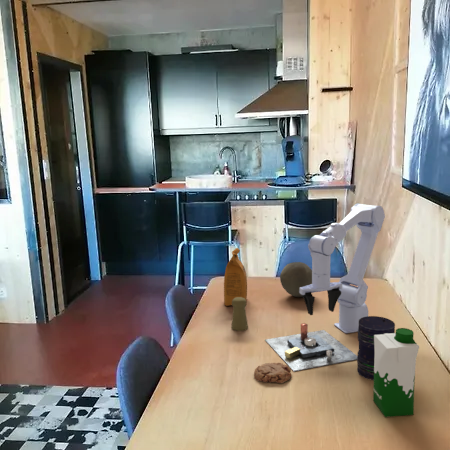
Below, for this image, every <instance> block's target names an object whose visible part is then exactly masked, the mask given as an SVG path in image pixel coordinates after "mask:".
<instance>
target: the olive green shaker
mask: <svg viewBox="0 0 450 450" xmlns="http://www.w3.org/2000/svg"><path fill="white" fill-rule="evenodd" d="M231 306H232V307H233V309H232V319H231V320H232V321H231V330H233V331H236V332H241V331H243V332H244V331H246V330H248V329H249V325H248V318H247V312H246V306H247V299H246V300H245V298H242V297H236V298H234V299H233V300H232V305H231Z"/></svg>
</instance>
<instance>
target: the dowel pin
mask: <svg viewBox="0 0 450 450" xmlns="http://www.w3.org/2000/svg"><path fill="white" fill-rule="evenodd" d="M326 360H327V361H331V360H332V351H331V350H327V351H326Z"/></svg>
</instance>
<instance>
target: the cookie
mask: <svg viewBox="0 0 450 450" xmlns="http://www.w3.org/2000/svg"><path fill="white" fill-rule="evenodd" d="M253 371H254V372H253V377H254V379H255V380H257V381H258V382H263V383H274V382H275V383H277V384H283V383H285V382H287V381H289V380H290V379H291V378H292V376H293V375H292V372H291V371H292V369H291V368H290V367H289V366H288V365H287V364H284V363H282V362H268V363H263V364H261V365H257V366H256V368H255V369H254V370H253Z"/></svg>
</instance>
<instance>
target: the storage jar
mask: <svg viewBox="0 0 450 450" xmlns="http://www.w3.org/2000/svg"><path fill="white" fill-rule="evenodd" d="M395 328H396V324H395V322H394V321H393V320H391V319H390V318H386V317H383V316H379V315H378V316H376V315H368V316H367V317H363V318H361V319H359V326H358V331H357V340H358V351H357V354H356V355H357V360H356V363H357V366H356V367H357V369H356V372H357V374H358V375H359V376H360V377H362V378H364V379H367V380H369V381H373V382H374V358H375V348H374V335H380V334H385V333H388V334H390V333H396V329H395Z"/></svg>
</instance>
